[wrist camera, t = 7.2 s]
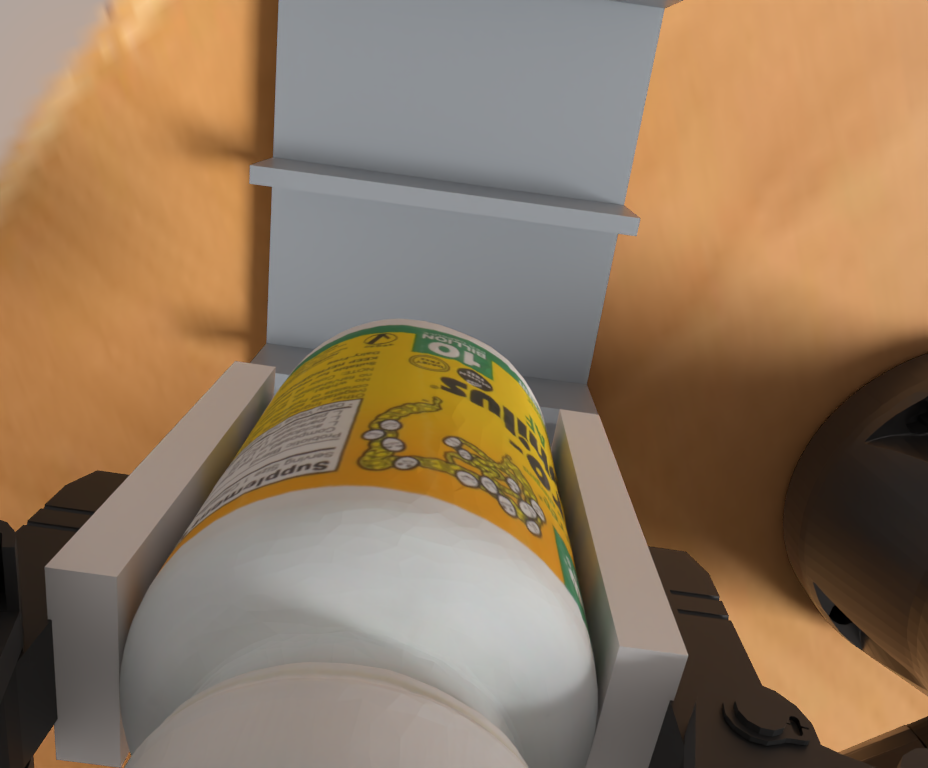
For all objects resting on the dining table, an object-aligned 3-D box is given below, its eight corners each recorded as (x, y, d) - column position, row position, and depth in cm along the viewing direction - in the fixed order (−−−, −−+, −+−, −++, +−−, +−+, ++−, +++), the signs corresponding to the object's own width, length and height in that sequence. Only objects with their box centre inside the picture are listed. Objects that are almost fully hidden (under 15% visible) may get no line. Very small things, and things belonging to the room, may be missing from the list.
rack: (660, -8, 26) (692, -24, 22) (550, 530, 34) (560, 588, 30) (289, -62, 26) (256, -89, 22) (267, 496, 34) (240, 549, 30)
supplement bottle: (221, 396, 14) (-207, 887, 5) (460, 258, 13) (418, 584, 4) (372, 598, 16) (234, 1233, 7) (596, 489, 15) (768, 1073, 6)
